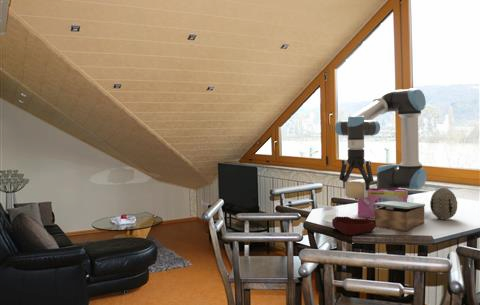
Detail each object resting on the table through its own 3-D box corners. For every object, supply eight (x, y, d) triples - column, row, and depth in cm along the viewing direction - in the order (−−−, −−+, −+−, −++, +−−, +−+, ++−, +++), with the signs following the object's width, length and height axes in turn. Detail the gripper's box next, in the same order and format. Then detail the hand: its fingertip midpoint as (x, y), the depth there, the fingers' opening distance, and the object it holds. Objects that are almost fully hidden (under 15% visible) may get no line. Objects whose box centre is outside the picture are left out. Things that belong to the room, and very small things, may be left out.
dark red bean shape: (325, 234, 176) (325, 222, 176) (336, 226, 190) (336, 215, 190) (370, 239, 168) (370, 226, 167) (377, 230, 182) (377, 219, 182)
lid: (372, 207, 187) (373, 203, 187) (392, 204, 204) (393, 200, 204) (406, 211, 177) (406, 207, 177) (424, 207, 194) (425, 203, 194)
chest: (374, 227, 188) (374, 209, 187) (394, 219, 204) (394, 202, 204) (406, 231, 179) (406, 212, 178) (424, 223, 195) (424, 205, 195)
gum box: (406, 215, 213) (407, 188, 212) (409, 219, 205) (409, 191, 204) (357, 214, 218) (357, 187, 217) (358, 217, 210) (358, 189, 209)
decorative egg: (462, 221, 198) (463, 189, 198) (438, 222, 197) (438, 189, 197) (448, 216, 210) (448, 186, 209) (425, 216, 209) (425, 186, 208)
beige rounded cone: (343, 197, 202) (343, 182, 201) (352, 194, 209) (351, 180, 208) (360, 199, 196) (360, 183, 196) (369, 196, 203) (369, 181, 202)
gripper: (331, 148, 205) (331, 195, 206) (374, 149, 191) (374, 199, 192) (339, 147, 211) (339, 193, 212) (381, 148, 196) (381, 197, 198)
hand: (356, 196), depth 202 cm, fingers closed on beige rounded cone, 9 cm apart
